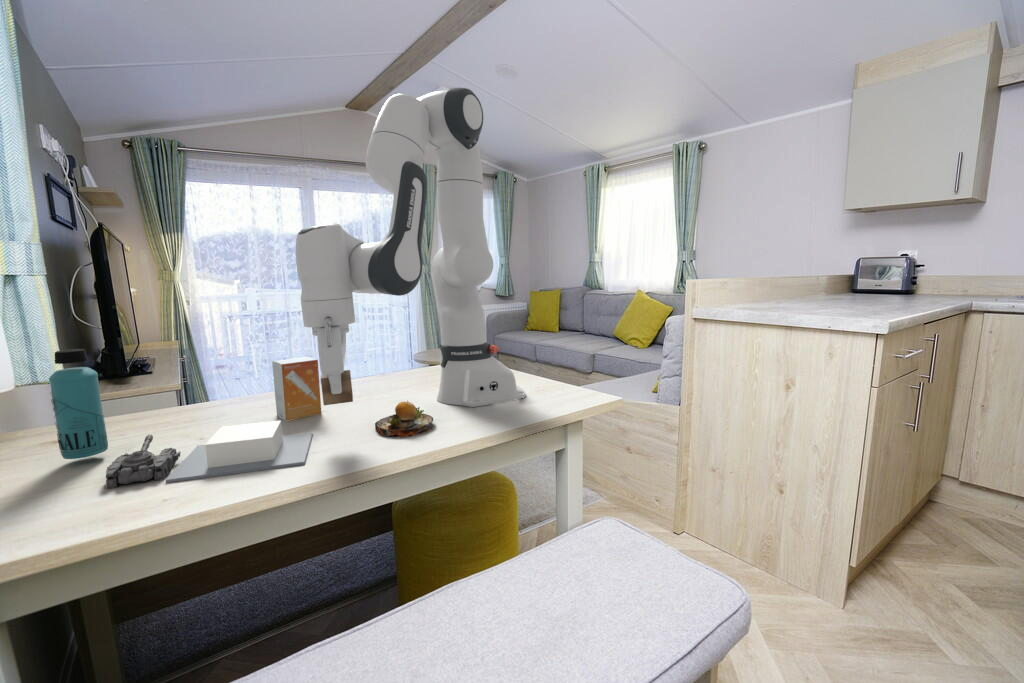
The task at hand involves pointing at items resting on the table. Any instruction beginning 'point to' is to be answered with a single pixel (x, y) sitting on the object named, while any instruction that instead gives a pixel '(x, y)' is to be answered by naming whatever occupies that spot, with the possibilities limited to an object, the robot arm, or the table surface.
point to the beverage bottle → (77, 407)
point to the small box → (296, 388)
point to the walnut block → (337, 398)
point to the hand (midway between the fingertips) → (337, 388)
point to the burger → (405, 421)
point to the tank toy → (140, 465)
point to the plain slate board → (288, 455)
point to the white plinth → (244, 443)
